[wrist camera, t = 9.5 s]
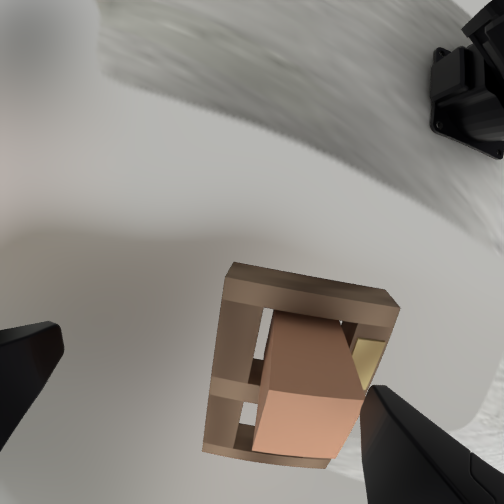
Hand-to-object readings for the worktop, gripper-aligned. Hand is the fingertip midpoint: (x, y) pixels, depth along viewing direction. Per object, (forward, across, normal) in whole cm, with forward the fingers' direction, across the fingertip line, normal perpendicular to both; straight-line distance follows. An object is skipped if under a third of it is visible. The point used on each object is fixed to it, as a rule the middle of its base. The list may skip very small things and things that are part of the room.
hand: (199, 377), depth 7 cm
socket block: (+12, -4, +8) cm, 15 cm away
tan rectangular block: (+12, -4, +5) cm, 13 cm away
